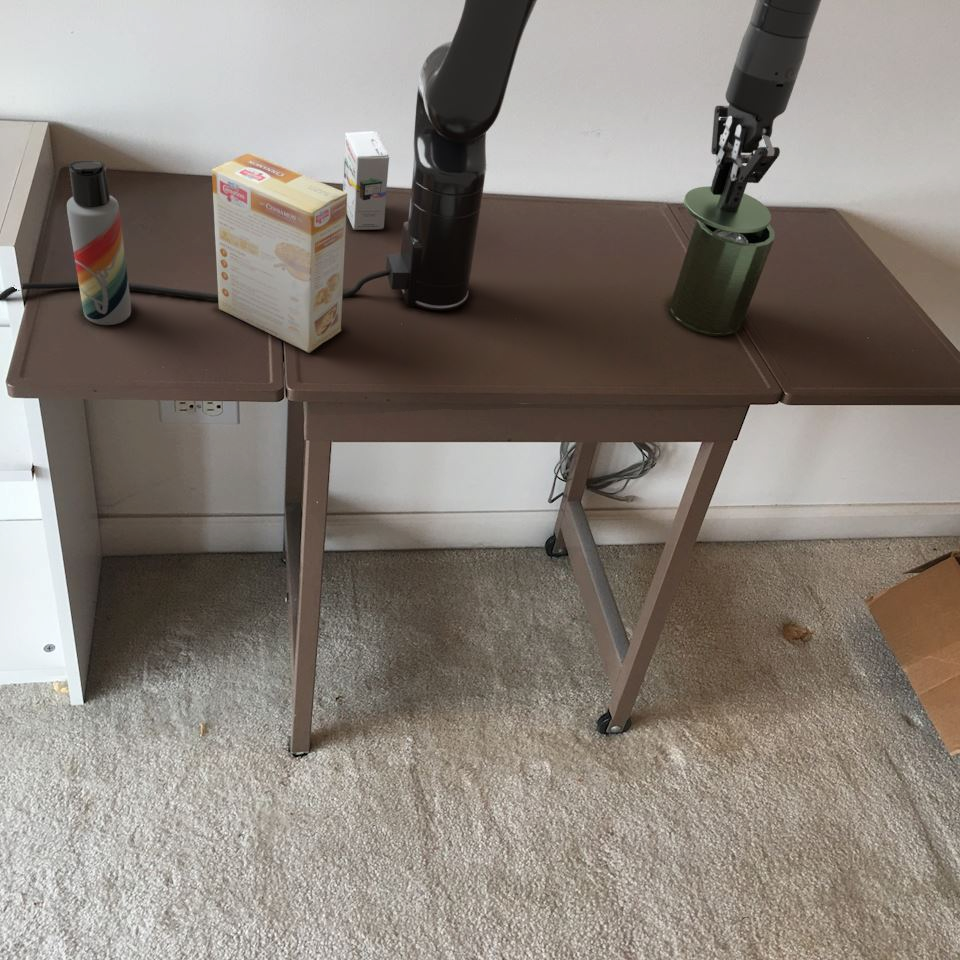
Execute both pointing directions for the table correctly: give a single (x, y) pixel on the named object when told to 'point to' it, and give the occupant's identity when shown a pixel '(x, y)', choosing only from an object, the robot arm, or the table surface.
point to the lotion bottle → (98, 245)
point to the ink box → (365, 179)
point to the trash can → (718, 280)
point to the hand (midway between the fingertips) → (723, 199)
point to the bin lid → (727, 210)
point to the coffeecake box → (279, 250)
